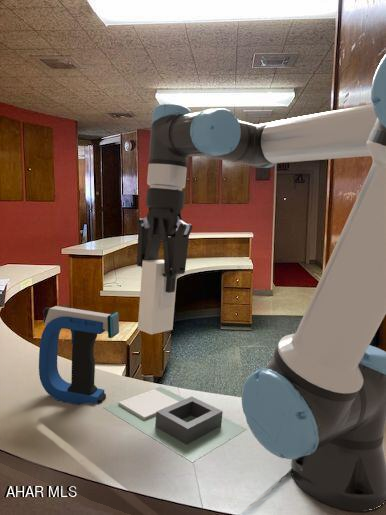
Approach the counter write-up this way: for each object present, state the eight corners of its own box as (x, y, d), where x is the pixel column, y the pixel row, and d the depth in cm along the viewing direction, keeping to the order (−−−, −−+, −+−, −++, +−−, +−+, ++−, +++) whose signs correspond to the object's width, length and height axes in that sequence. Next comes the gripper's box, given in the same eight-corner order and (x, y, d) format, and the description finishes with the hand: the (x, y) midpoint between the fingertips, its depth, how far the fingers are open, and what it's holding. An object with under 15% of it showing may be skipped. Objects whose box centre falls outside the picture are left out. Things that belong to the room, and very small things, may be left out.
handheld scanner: (107, 411, 84) (113, 316, 82) (35, 398, 87) (40, 306, 85) (115, 401, 89) (122, 311, 87) (47, 389, 92) (51, 302, 90)
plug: (172, 329, 85) (178, 262, 84) (151, 334, 81) (156, 263, 79) (159, 324, 88) (164, 259, 86) (137, 329, 84) (142, 260, 82)
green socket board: (246, 433, 80) (248, 414, 80) (191, 468, 68) (193, 445, 68) (160, 390, 96) (161, 374, 95) (103, 412, 84) (104, 393, 83)
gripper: (211, 191, 78) (201, 312, 81) (150, 188, 90) (142, 295, 92) (185, 188, 73) (174, 317, 76) (123, 185, 84) (115, 298, 87)
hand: (157, 304), depth 84 cm, fingers closed on plug, 4 cm apart
